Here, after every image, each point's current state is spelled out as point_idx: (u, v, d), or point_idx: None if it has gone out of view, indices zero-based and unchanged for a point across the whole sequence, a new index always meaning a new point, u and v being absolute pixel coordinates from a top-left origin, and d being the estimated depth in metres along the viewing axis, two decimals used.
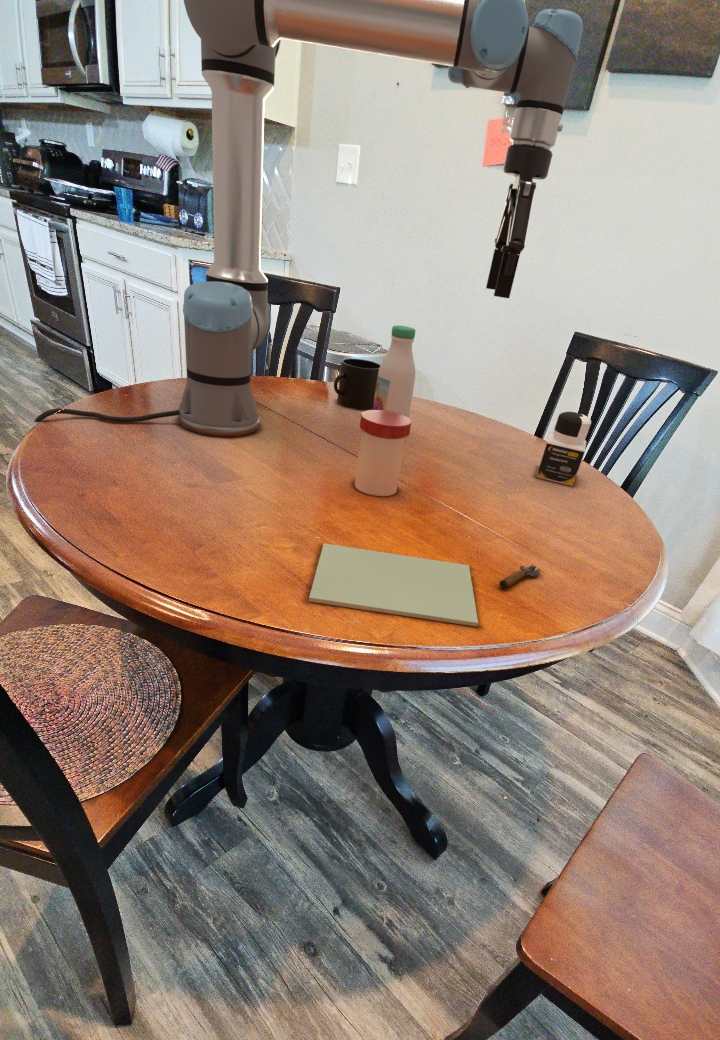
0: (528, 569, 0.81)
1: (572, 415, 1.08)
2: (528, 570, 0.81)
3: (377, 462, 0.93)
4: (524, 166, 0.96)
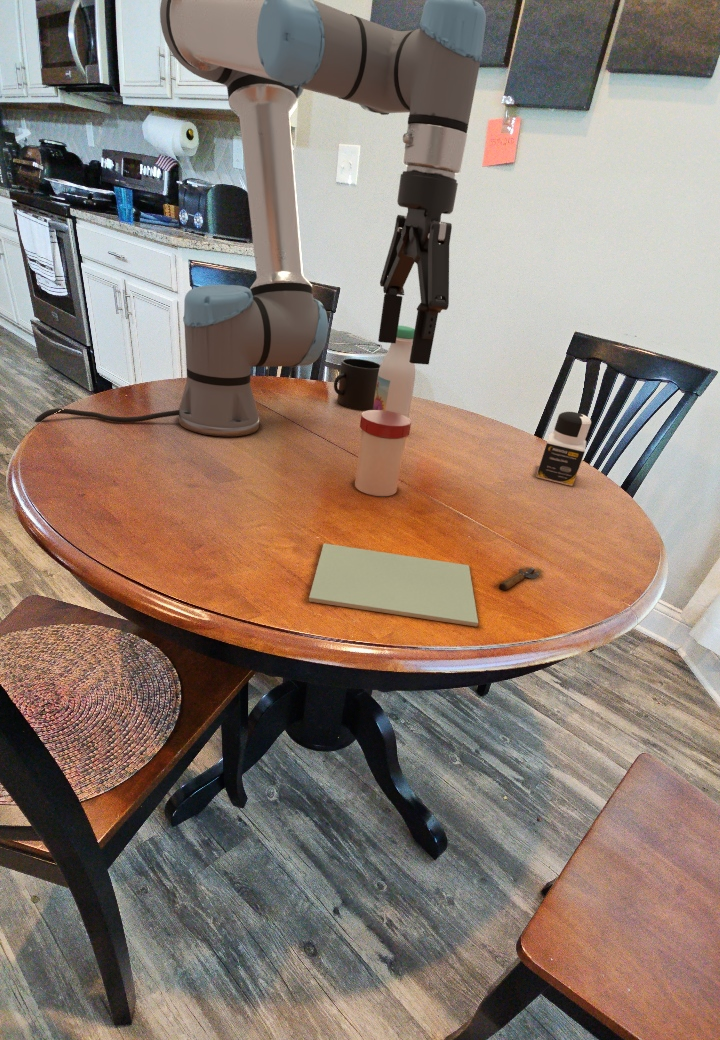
0: (527, 571, 0.81)
1: (572, 415, 1.08)
2: (527, 572, 0.81)
3: (377, 462, 0.93)
4: None
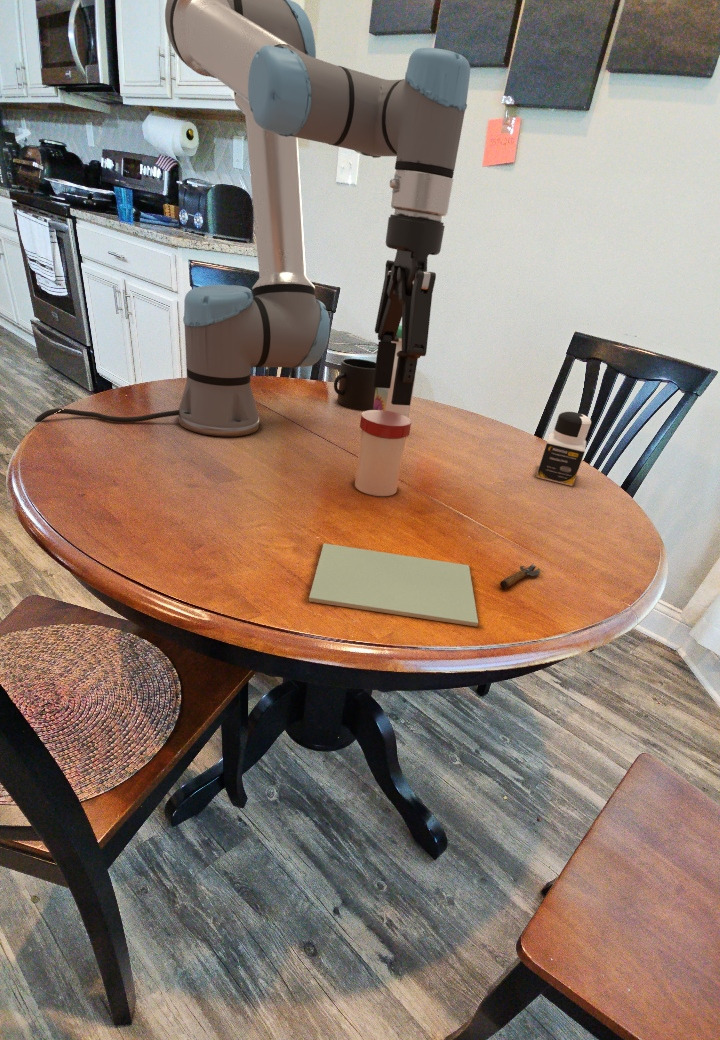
0: (528, 569, 0.81)
1: (572, 415, 1.08)
2: (528, 570, 0.81)
3: (377, 462, 0.93)
4: None
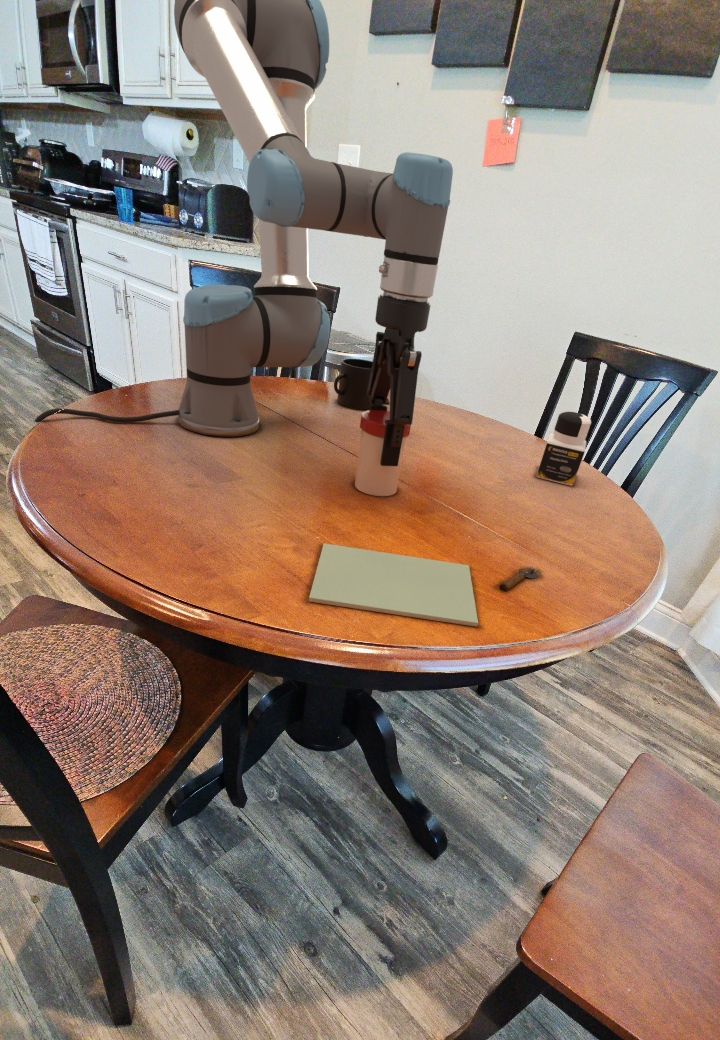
0: (527, 571, 0.81)
1: (572, 415, 1.08)
2: (527, 572, 0.81)
3: (377, 462, 0.93)
4: None
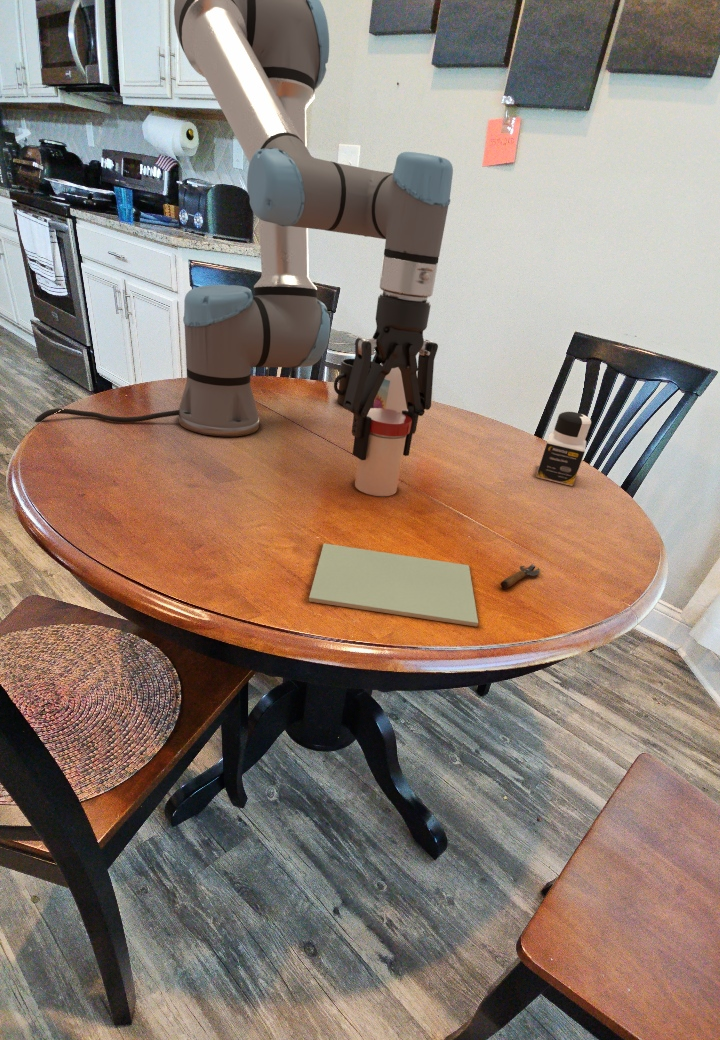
0: (528, 569, 0.81)
1: (572, 415, 1.08)
2: (528, 570, 0.81)
3: (377, 462, 0.93)
4: (377, 316, 0.83)
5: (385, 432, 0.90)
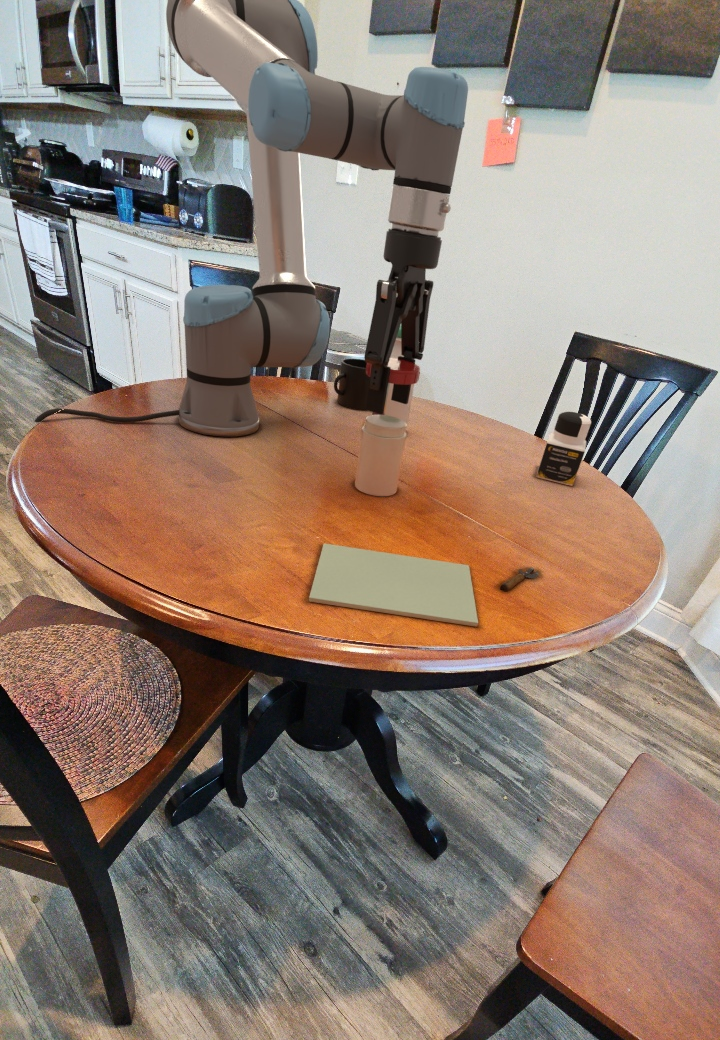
0: (527, 572, 0.81)
1: (572, 415, 1.08)
2: (527, 572, 0.81)
3: (377, 462, 0.93)
4: (394, 254, 0.77)
5: (405, 381, 0.86)
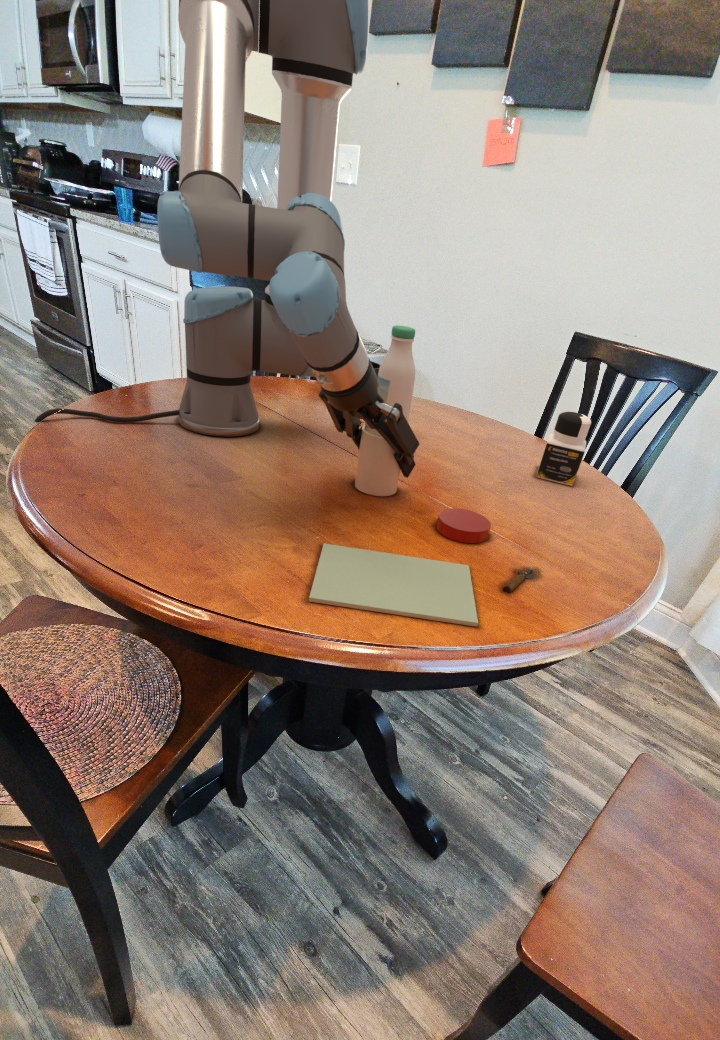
0: (526, 572, 0.81)
1: (572, 415, 1.08)
2: (527, 573, 0.81)
3: (377, 462, 0.93)
4: None
5: (477, 540, 0.87)
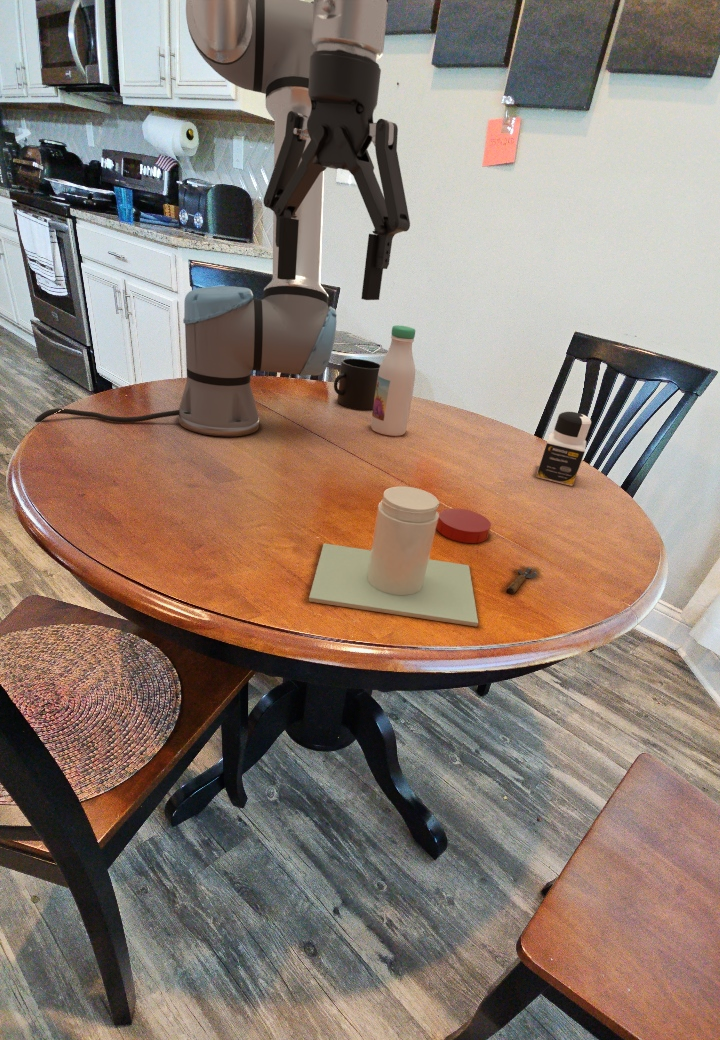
0: (525, 571, 0.81)
1: (572, 415, 1.08)
2: (526, 573, 0.81)
3: (399, 554, 0.68)
4: None
5: (477, 540, 0.87)
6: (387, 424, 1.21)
